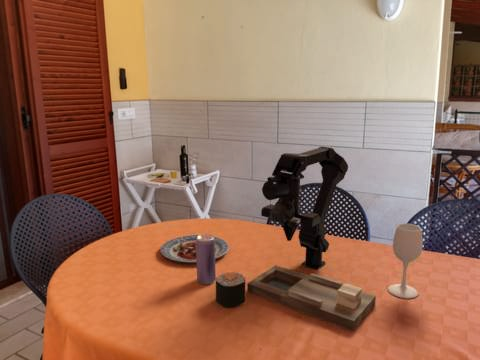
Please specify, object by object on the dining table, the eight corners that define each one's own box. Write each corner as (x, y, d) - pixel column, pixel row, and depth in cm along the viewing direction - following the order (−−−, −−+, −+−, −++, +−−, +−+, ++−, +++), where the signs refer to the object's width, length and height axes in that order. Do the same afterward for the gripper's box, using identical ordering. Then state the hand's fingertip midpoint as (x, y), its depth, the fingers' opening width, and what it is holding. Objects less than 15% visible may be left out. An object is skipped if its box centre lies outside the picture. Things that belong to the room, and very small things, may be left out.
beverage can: (212, 286, 131) (212, 241, 128) (194, 284, 132) (193, 240, 129) (217, 277, 137) (216, 234, 133) (200, 275, 138) (199, 233, 134)
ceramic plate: (242, 248, 161) (241, 241, 161) (201, 273, 140) (201, 265, 139) (190, 235, 175) (189, 228, 174) (146, 257, 153) (145, 249, 153)
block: (344, 296, 119) (345, 283, 118) (361, 301, 116) (362, 288, 115) (336, 303, 115) (337, 290, 114) (354, 309, 112) (355, 295, 111)
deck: (275, 273, 140) (275, 260, 139) (375, 305, 120) (376, 291, 119) (247, 292, 127) (247, 278, 126) (353, 331, 107) (354, 315, 106)
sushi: (211, 299, 123) (210, 274, 121) (233, 291, 128) (233, 267, 126) (227, 311, 117) (226, 285, 115) (250, 301, 122) (250, 277, 120)
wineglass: (417, 287, 130) (424, 224, 125) (419, 301, 122) (426, 233, 117) (387, 283, 133) (393, 220, 128) (387, 296, 125) (393, 230, 120)
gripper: (251, 194, 129) (251, 241, 133) (304, 205, 118) (302, 255, 122) (270, 187, 138) (270, 231, 142) (322, 196, 127) (319, 244, 131)
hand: (289, 240), depth 134 cm, fingers closed
